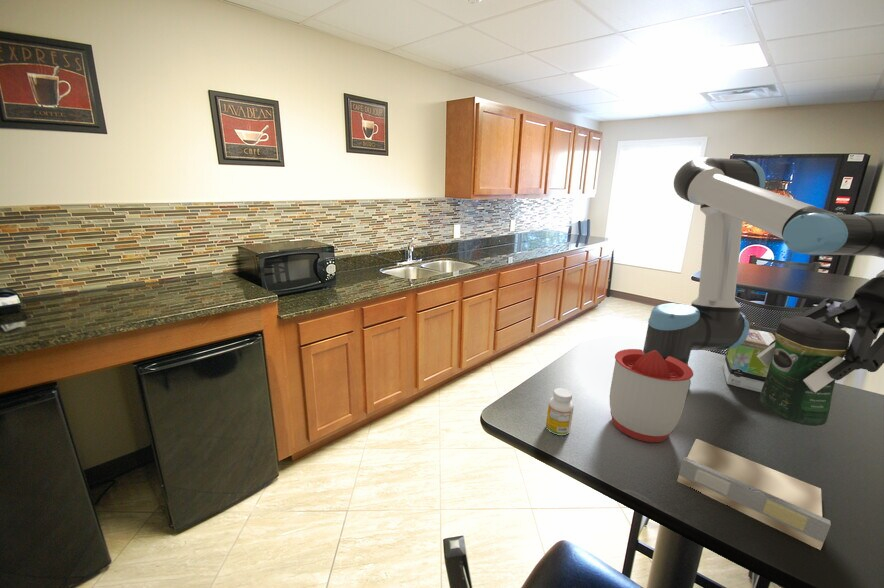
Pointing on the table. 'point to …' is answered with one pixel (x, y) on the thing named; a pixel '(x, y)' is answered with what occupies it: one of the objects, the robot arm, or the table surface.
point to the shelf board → (757, 486)
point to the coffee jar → (801, 369)
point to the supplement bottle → (560, 412)
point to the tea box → (748, 361)
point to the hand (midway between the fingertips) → (783, 372)
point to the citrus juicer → (648, 394)
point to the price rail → (756, 499)
